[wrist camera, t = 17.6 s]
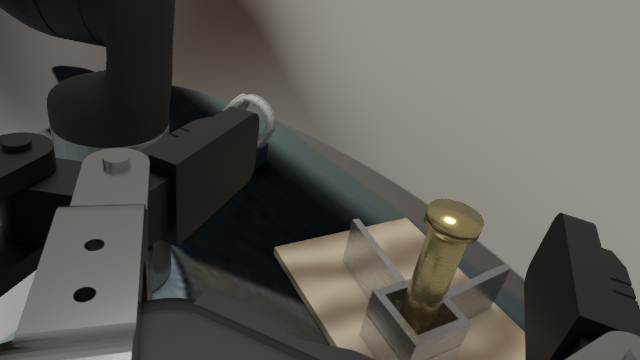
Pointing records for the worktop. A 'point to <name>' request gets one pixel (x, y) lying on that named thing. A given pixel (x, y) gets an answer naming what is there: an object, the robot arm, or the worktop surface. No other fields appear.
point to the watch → (267, 111)
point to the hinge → (387, 297)
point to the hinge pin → (438, 260)
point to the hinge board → (351, 303)
